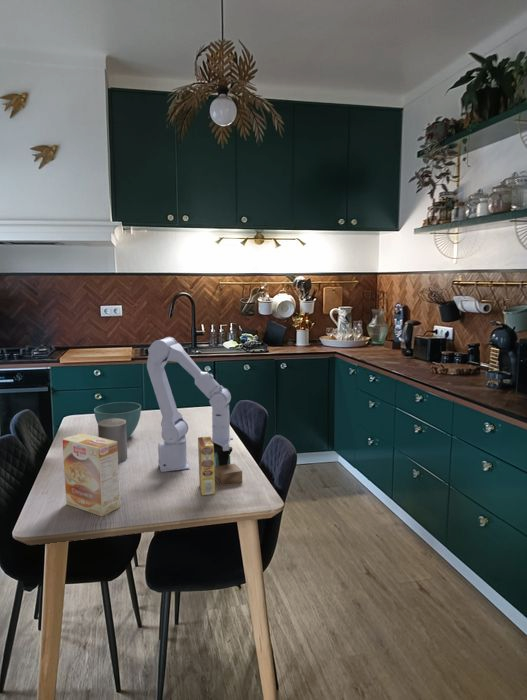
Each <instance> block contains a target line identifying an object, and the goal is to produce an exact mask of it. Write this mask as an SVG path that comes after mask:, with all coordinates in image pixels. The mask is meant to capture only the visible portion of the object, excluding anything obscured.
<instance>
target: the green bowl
mask: <svg viewBox="0 0 527 700" xmlns="http://www.w3.org/2000/svg"><path fill="white" fill-rule="evenodd" d="M141 412H142V405H141V404H140V403H137V402H130V401H128V402H127V401H119V402H109V403H105V404H101V405H98V406H96V407H95V408H94V409H93V413H94V417H95V420H96V423H97V424H98V423H99V422H100V421H102V420H105V419H111V418H112V419H113V418H117V419H123V420H126V435H127V439H128V438H130V437H131V435H132V434H134V432H135V430H136V428H137V426H138V424H139V421H140V418H141Z"/></svg>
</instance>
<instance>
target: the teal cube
mask: <svg viewBox="0 0 527 700" xmlns="http://www.w3.org/2000/svg"><path fill="white" fill-rule="evenodd" d="M228 464H231V455H230V456H229V459H228ZM228 464H227V465H228ZM215 466H219V460H218V455H217V452H216V453H214V467H215Z"/></svg>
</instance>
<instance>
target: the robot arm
mask: <svg viewBox="0 0 527 700" xmlns="http://www.w3.org/2000/svg"><path fill="white" fill-rule="evenodd" d="M147 351H148V356H147V362H146V369H147V373H148V376H149V378H150V382H151V384H152V387H153V391H154V395H155V397H156V401H157V405H158V406H159V409H160V413H161V416H162V418H161V422H160V426H161V438H162V440H163V441H161V442H159V443H157V444H158V447H157V449H158V451H157V452H158V460H157V461H158V466H159V469H160V471H161V473H163V472H164V473H165V472H171V471H180V470H188V469H190V465H189V464H188V462H187V461H188V459H187V457H188V456H187V438H186V435H187V433H188V432H189V425H188V422H187V421H186V420H185V419H184V417H183V415H182V413H180V412H179V411H178V408H177V404H176V401H175V399H174V395H173V393H172V392H173V391H172V389H171V386H170V383H169V380H168V376H167V373H166V370H165V369H166V368H165V366H166V365H167V363H168V361H169V362H174V363H175V362H176V363H178V365H180V366H181V368H183V369H184V370H185V371H186V372H187V373H188V374H189V375H190V376H191V377H192V378H193V379H194V385H195V386H196V387H197V388H198V389H199V390H200V391H201V392H202V393H203V394H204V395H205V397H206V398H207V399H209V400H208V402H209V405H210V406H211V411H212V412H211V415H212V416H211V421H212V422H211V423H212V425H211V428H212V429H211V432H212V434H211V435H212V436H211V439H212V442H213V444H214V453H216V452H217V455H218V460H219V466H221V465H227V464H228V459H229V456H230V457H231V454H232V452H233V447H232V446H230V442H231V441H233V440H234V437H233V436H230V434H231V433H230V431H231V430H230V425H231V424H230V402H231V399H232V395H231V392H230V391H229V389H228V388H226V387H224V386H223V385H222V384H221V385H220V383H218V382H217V380H215V379H214V377H215V376H214V375H213V373H209V371H208V372H207V371H202V369H200V367H199V365H197V364H196V362H195V361H194V360H193V359H192V357H191V356H190V355H189V354H188V353H187V352H186V350H185V349H184V347H183V346H182V344H181V343H179V342H178V341H177V340H176V339H175V338H174V337H172V336H167V337H164V338H162V339H157V340H154V341H153V342H152V343H151V344H150V346H149V347H148V349H147Z"/></svg>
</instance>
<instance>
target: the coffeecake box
mask: <svg viewBox="0 0 527 700" xmlns="http://www.w3.org/2000/svg"><path fill="white" fill-rule="evenodd" d="M61 440H62V451H63V469H64V484H65V485H64V486H65V504H66V505H67V506H70V507H73V508H76V509H79V510H82V511H84V512H88V513H91V514H92V515H96V516H99V517H104V516H105V515H107V514H109V513H111V512H113V511H116V510H117V509H120V508H121V499H120V496H121V494H120V476H119V472H120V471H119V463H118V449H117V441H113V440H108V439H104V438H100V437H99V436H96V435H92V434H88V433H83V432H80V433H78V434H73V435H70V436H67V437H64V438H62V439H61Z"/></svg>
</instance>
